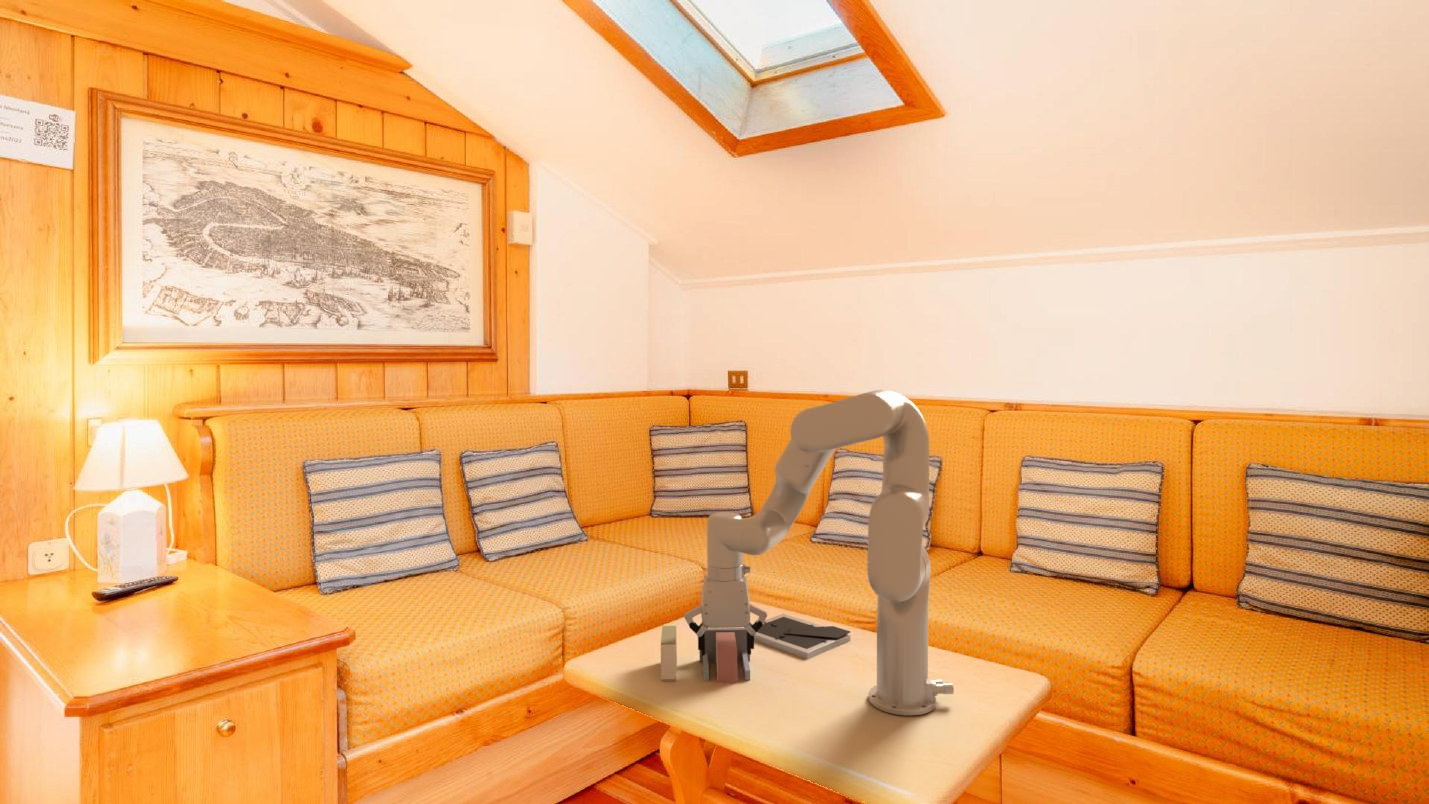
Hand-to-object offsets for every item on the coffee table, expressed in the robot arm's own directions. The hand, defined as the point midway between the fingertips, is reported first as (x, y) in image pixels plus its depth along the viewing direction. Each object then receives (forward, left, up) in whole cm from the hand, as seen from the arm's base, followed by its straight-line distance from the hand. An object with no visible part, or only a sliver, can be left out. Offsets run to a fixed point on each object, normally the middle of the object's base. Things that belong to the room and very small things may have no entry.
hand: (726, 652), depth 164 cm
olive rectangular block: (+12, -2, -4) cm, 13 cm away
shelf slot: (0, -2, -4) cm, 5 cm away
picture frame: (-17, -19, -5) cm, 26 cm away
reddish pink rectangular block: (0, 0, -4) cm, 4 cm away
